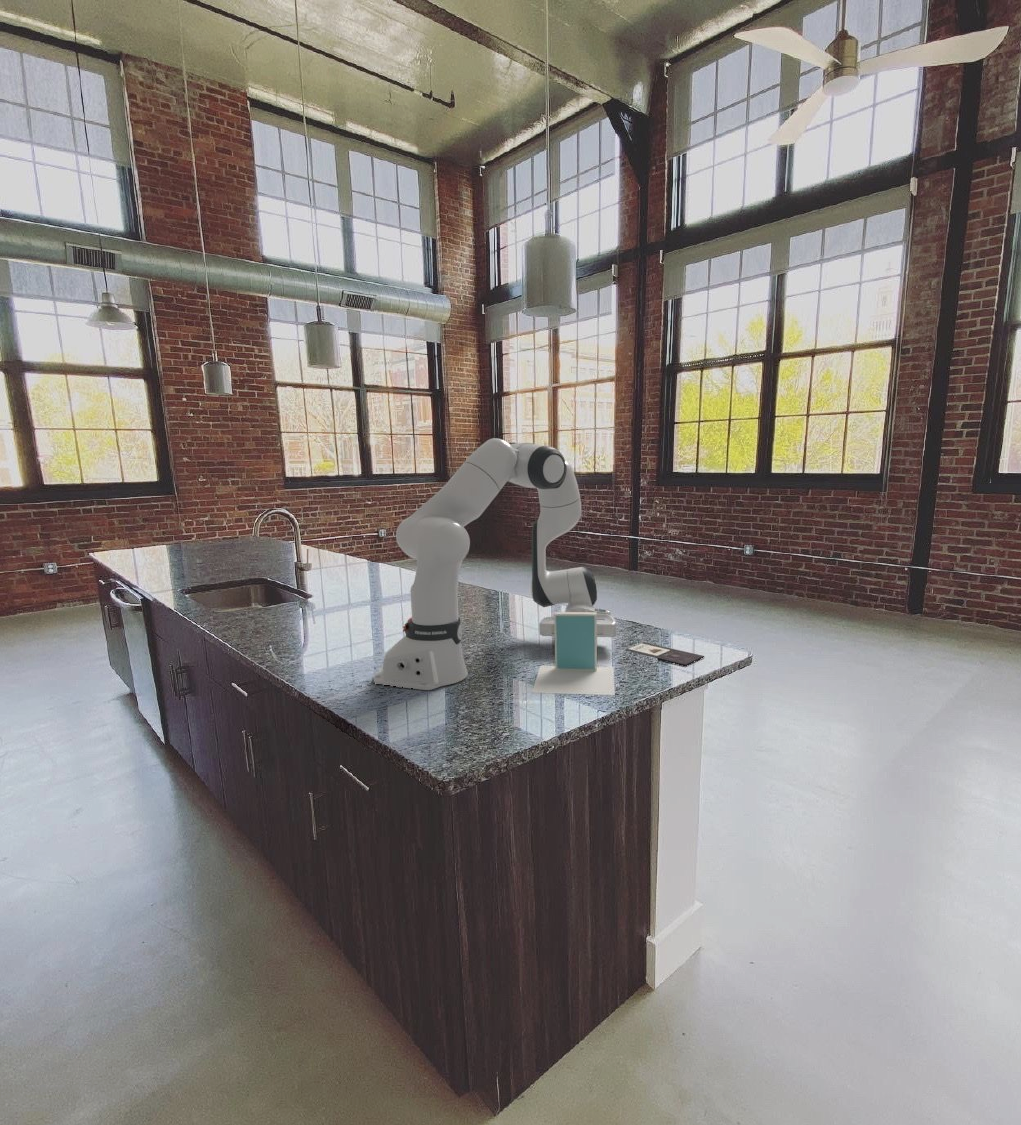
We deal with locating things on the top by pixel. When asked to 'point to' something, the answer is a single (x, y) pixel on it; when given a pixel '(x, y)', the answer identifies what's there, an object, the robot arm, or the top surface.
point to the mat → (575, 681)
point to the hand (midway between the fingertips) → (576, 635)
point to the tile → (575, 641)
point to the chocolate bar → (666, 654)
